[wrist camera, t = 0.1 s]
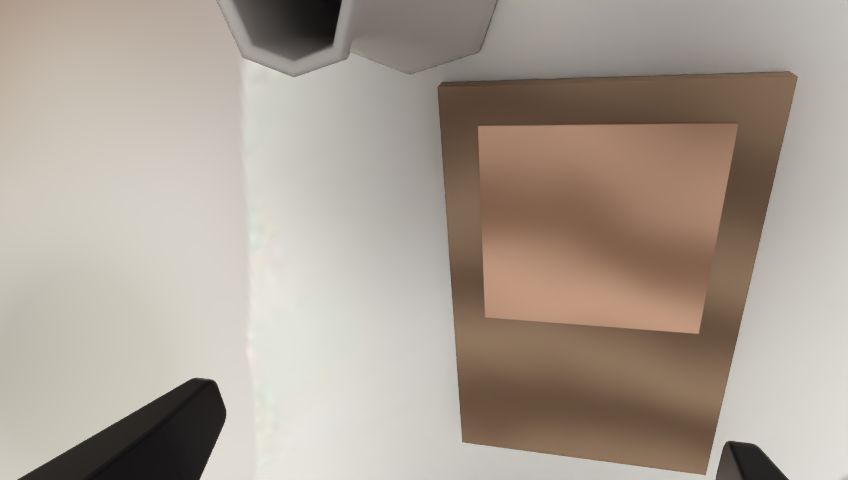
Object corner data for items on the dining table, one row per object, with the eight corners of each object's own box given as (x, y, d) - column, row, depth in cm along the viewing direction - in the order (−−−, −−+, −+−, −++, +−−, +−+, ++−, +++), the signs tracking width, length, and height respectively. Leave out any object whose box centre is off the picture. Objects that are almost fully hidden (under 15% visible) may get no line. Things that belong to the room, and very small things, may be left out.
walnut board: (702, 461, 27) (705, 476, 27) (465, 430, 30) (462, 443, 30) (789, 71, 18) (798, 77, 18) (441, 82, 21) (436, 87, 21)
